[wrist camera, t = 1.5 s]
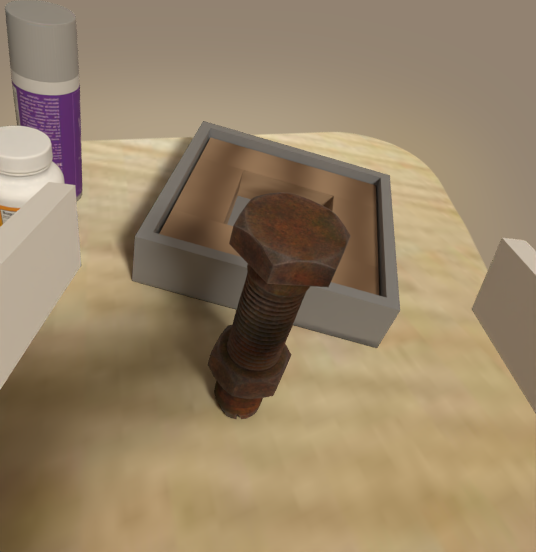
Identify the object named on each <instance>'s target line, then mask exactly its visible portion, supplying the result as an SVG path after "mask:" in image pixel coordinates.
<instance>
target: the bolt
mask: <svg viewBox="0 0 536 552" xmlns="http://www.w3.org/2000/svg"><path fill="white" fill-rule="evenodd" d="M350 237H351V235H350V233H349V232H348V230H347V228H346V227H345V225H344V224H343V222H342V221H341V220H340V218H339V217H338V216H337V215H336V214H335V213H334V212H332V211H331V210H330V209H328V208H326V207H324V206H322V205H320V204H318V203H316V202H314V201H312V200H310V199H307V198H304V197H301V196H299V195H296V194H292V193H286V192H278V193H269V194H264V195H260V196H256V197H254V198H252V199H251V200H250V201H249V202H248V204H247V205H246V206H245V208H244V209H243V210H242V212H241V213H240V215H239V216H238V218H237V220H236V222H235V224H234V225H233V229H232V233H231V238H230V242H229V244H230V245H231V246H232V247H233V248H234V250H235V251H236V252H237V253H238V254H239V255H240V256H241V257H242V258H243V259H244V260H245V261H246V262H247V263H248V265H247V271H248V272H247V276H246V280H245V283H244V287H243V290H242V293H241V296H240V299H239V303H238V306H237V310H236V314H235V317H234V322H233V325H230V326H227V328H226V329H225V330H224V331H223V333H222V334H221V336H220V337H219V339H218V341H217V342H216V344H215V346H214V348H213V350H212V352H211V354H210V358H209V362H208V366H209V368H210V370H211V372H212V374H213V376H214V377H215V378H216V380H217V381H216V385H215V390H214V392H215V397H216V400H217V401H218V403H219V404H220V407H221V409H222V411H223V412H225V413H226V416H228V417H230V418H234V419H237V418H236V417H237V414H238V415H239V417H241V419H246V418H248V417H250V416H252V415H254V414H255V413H256V412H257V410H258V408H259V406H260V404H261V402H262V399H263V398H264V397H269V396H273V395H274V393H275V391H276V389H277V386H278V384H279V382H280V380H281V377H282V375H283V373H284V371H285V368H286V366H287V364H288V361H289V359H290V357H291V353H290V352H289V350H288V348H287V346H286V345H285V342H286V339H287V337H288V335H289V332H290V330H291V328H292V325H293V323H294V321H295V318H296V316H297V313H298V310H299V309H300V306H301V303H302V301H303V299H304V296H305V294H306V291H307V290H308V289H309V288H310V286H315V287H329V285H330V283H331V281H332V278H333V276H334V274H335V272H336V269H337V267H338V265H339V263H340V261H341V258H342V256H343V254H344V251H345V249H346V247H347V244H348V242H349V240H350Z"/></svg>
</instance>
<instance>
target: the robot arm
mask: <svg viewBox="0 0 536 552" xmlns="http://www.w3.org/2000/svg"><path fill="white" fill-rule="evenodd" d="M80 267H81V255H80V242H79V228H78V215H77V202H76V188H75V185H70V184H62V183H54V182H48V183H47V184H46V185H45V186H44V187H43V188H42V189H40V190H39V191H38V192H37V193H36V194H35V195H34V196H33V197H32V198H31V199H30V200H29V201H28V202H26V203H25V204H24V205H23V206H22V207H21V208H20V209H19V210H18V211H17V212H16V213H15V214H14V215H12V216H11V217H10V218H9V219H8V220H7V221H6V222H5V223H4V224H3V225H2V226H1V227H0V389H1V388H2V386H3V385H4V383H5V382H6V380H7V379H8V377H9V375H10V374H11V372H12V371H13V369H14V368H15V366H16V365H17V363H18V362H19V360H20V359H21V357H22V356H23V354H24V352H25V351H26V349H27V348H28V346H29V345H30V343H31V342H32V340H33V339H34V337H35V336H36V334H37V333H38V331H39V329H40V328H41V326H42V325H43V323H44V322H45V320H46V319H47V317H48V316H49V314H50V313H51V311H52V309H53V308H54V306H55V305H56V303H57V302H58V300H59V299H60V297H61V296H62V294H63V293H64V291H65V290H66V288H67V286H68V285H69V283H70V282H71V280H72V279H73V277H74V276H75V274H76V273H77V271H78V270H79V268H80ZM472 311H473V312H474V314H475V315H476V317H477V319H478V320H479V322H480V324H481V325H482V327H483V329H484V330H485V332H486V333H487V335H488V337H489V338H490V340H491V342H492V343H493V345H494V346H495V348H496V350H497V351H498V353H499V355H500V356H501V358H502V359H503V361H504V363H505V364H506V366H507V368H508V369H509V371H510V373H511V374H512V376H513V377H514V379H515V381H516V382H517V384H518V386H519V387H520V389H521V390H522V392H523V394H524V395H525V397H526V399H527V400H528V402H529V403H530V405H531V407H532V408H533V410H534V412H535V413H536V251H535V250H534V249H533V248H532V247H531V246H530V245H529V244H528V243H527V242H526V241H525V240H517V239H508V238H502V239H501V241H500V244H499V246H498V248H497V251H496V253H495V256H494V258H493V260H492V262H491V265H490V267H489V269H488V272H487V274H486V277H485V279H484V281H483V284H482V286H481V288H480V291H479V293H478V295H477V298H476V300H475V302H474V305H473V307H472Z"/></svg>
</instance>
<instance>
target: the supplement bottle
mask: <svg viewBox="0 0 536 552" xmlns="http://www.w3.org/2000/svg"><path fill="white" fill-rule="evenodd" d="M52 158H53V154H52V147H51V141H50V139H49V137H48V136H47V135H46V134H45V133H43V132H41V131H39V130H37V129H34V128H31V127H25V126H4V127H0V227H1V226H2V225H3V224H4V223H5V222H6V221H7V220H8V219H9V218H10V217H11V216H12V215H14V214H15V213H16V212H17V211H18V210H19V209H20V208H21V207H22V206H23V205H24V204H25V203H26V202H28V201H29V200H30V199H31V198H32V197H33V196H34V195H35V194H36V193H37V192H38V191H39V190H40V189H42V188H43V187H44V186H45V185H46V184H47V183H48V182H54V183H62V184H65V182H64V176H63V173H62V171H61V170H60V168H59V167H58V166H57V165H56V164H55V163H54V162H52Z"/></svg>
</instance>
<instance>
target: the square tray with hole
mask: <svg viewBox="0 0 536 552" xmlns="http://www.w3.org/2000/svg"><path fill="white" fill-rule="evenodd" d="M278 192H286V193H292V194H296V195H299V196H301V197H304V198H307V199H310V200H312V201H314V202H316V203H318V204H320V205H322V206H324V207H326V208H328V209H330V210H331V211H332V212H334V213H335V214H336V215H337V216H338V217H339V218H340V220H341V221H342V222H343V224H344V225H345V227H346V228H347V230H348V232H349V233H350V235H351V237H350V240H349V242H348V244H347V247H346V249H345V251H344V254H343V256H342V258H341V261H340V263H339V265H338V267H337V269H336V272H335V274H334V276H333V278H332V281H331V282H333V283H336V284H340V285H343V286H347V287H350V288H354V289H358V290H361V291H365V292H368V293H372V294H375V295H379V272H378V241H377V211H376V185H373V184H369V183H366V182H362V181H359V180H355V179H352V178H349V177H345V176H342V175H338V174H335V173H331V172H328V171H325V170H321V169H318V168H314V167H311V166H307V165H304V164H300V163H297V162H294V161H290V160H287V159H283V158H280V157H276V156H273V155H269V154H266V153H263V152H259V151H256V150H252V149H249V148H245V147H242V146H238V145H235V144H232V143H228V142H225V141H221V140H218V139H214V138H210V140H209V141H208V143H207V145H206V147H205V149H204V151H203V153H202V155H201V156H200V158H199V160H198V162H197V164H196V166H195V168H194V170H193V171H192V173H191V175H190V177H189V179H188V181H187V183H186V185H185V186H184V188H183V190H182V192H181V194H180V196H179V198H178V200H177V201H176V203H175V205H174V207H173V209H172V211H171V213H170V215H169V216H168V218H167V220H166V222H165V224H164V226H163V228H162V230H161V231H160V233H159V234H161V235H165V236H168V237H172V238H176V239H179V240H183V241H186V242H190V243H193V244H197V245H200V246H204V247H208V248H211V249H215V250H218V251H222V252H225V253H229V254H233V255H236V256H240V255H239V254H238V253H237V252H236V251H235V250H234V248H233V247H232V246H231V245H230V244H229V242H230V238H231V233H232V229H233V226H230V225H227V224H228V221H229V218H230V215H231V213H232V210H233V207H234V205H235V202H236V199H237V196H241V197H244V198H248V199H252V198H254V197H256V196H260V195H264V194H269V193H278ZM240 257H241V256H240Z"/></svg>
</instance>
